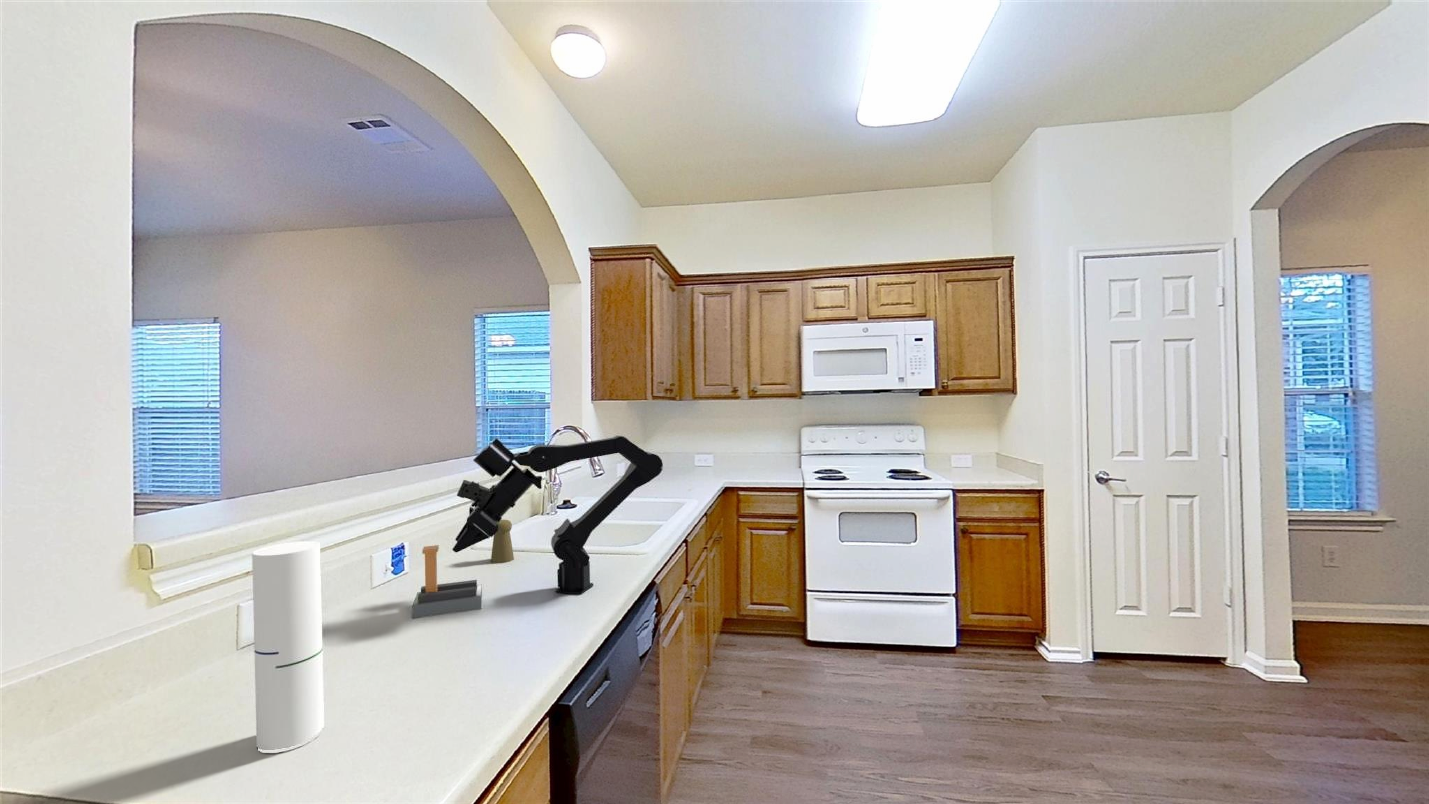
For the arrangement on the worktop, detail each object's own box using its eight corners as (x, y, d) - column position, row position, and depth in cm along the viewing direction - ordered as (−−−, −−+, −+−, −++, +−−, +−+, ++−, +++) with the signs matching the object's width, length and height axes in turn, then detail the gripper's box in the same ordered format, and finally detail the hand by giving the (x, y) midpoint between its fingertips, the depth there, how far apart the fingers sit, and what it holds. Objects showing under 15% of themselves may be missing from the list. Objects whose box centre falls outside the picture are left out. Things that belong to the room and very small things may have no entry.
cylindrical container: (280, 723, 79) (276, 542, 78) (335, 720, 79) (331, 540, 79) (242, 756, 71) (237, 556, 71) (302, 752, 72) (298, 554, 72)
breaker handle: (439, 592, 123) (438, 545, 123) (438, 597, 120) (437, 548, 120) (425, 594, 122) (424, 546, 122) (423, 599, 119) (422, 550, 119)
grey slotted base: (482, 595, 129) (481, 577, 129) (481, 608, 121) (480, 590, 121) (417, 603, 124) (417, 585, 124) (412, 618, 116) (411, 598, 116)
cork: (506, 563, 154) (505, 522, 154) (486, 562, 155) (485, 522, 155) (518, 557, 160) (517, 518, 160) (498, 556, 161) (498, 517, 161)
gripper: (481, 462, 134) (429, 514, 130) (479, 471, 116) (419, 531, 112) (517, 493, 136) (468, 544, 133) (521, 507, 119) (464, 566, 115)
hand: (455, 546), depth 123 cm, fingers open, 9 cm apart
